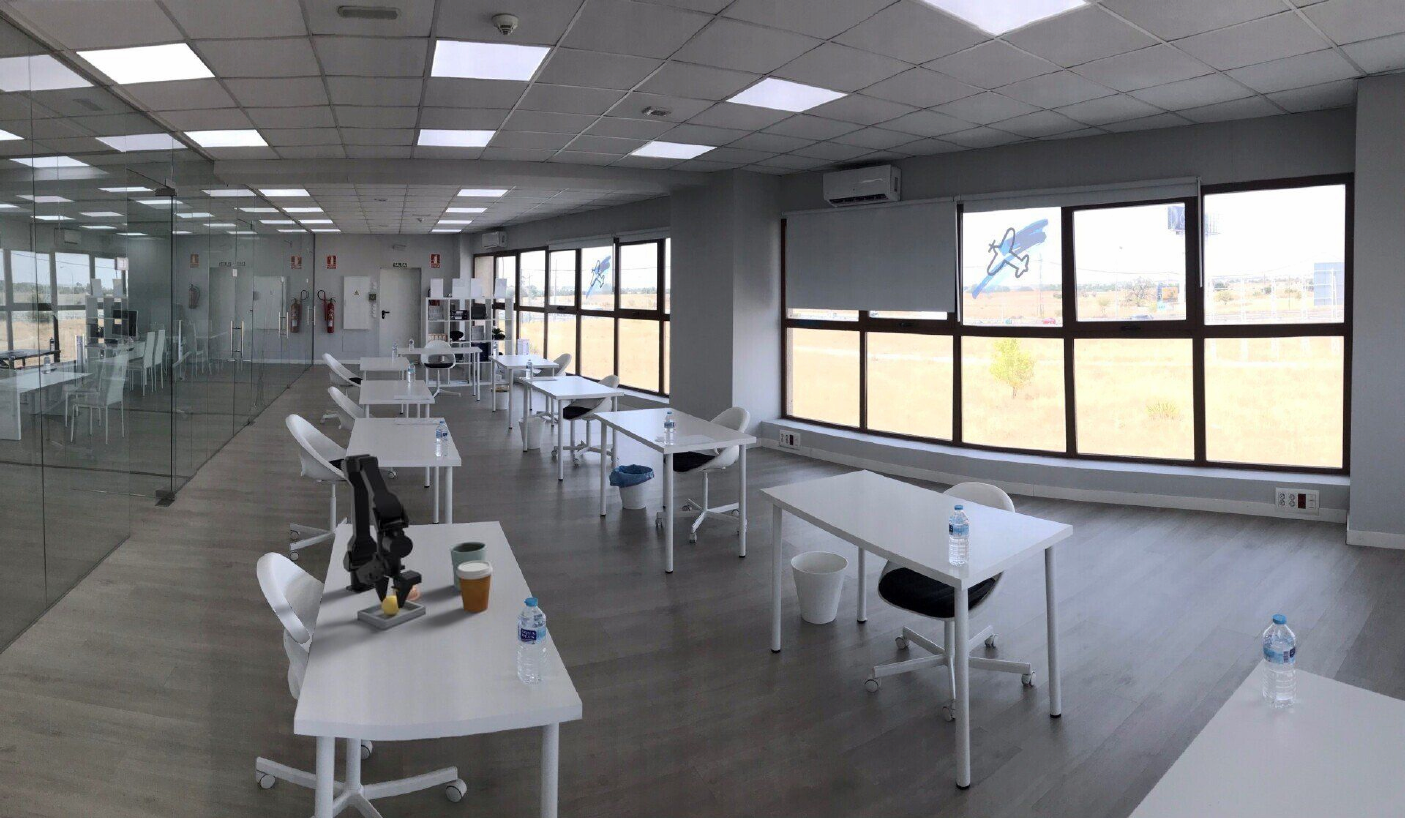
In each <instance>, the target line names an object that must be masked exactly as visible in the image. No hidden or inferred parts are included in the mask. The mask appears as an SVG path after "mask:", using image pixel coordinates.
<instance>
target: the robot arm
mask: <svg viewBox="0 0 1405 818" xmlns="http://www.w3.org/2000/svg"><path fill="white" fill-rule="evenodd" d="M340 470H341V472H342V474H343V478H344V479H345V480H346V481H347V483H348V484H349V485H350V499H351V500H350V503H351V520H352V524H351V525H352V535H351V537H350V539H349V540H348V542H347V544H346V549H347V550H346V551H345V553H344V556H343V559H342V564H343V570H345V571H346V572H347V573H350V576H349V578H350V585H347V586H345V589H347V590H350V591H352V592H355V593H363V592H365V591H369V590H371V589H374V590H375V592H376V594H377V597H378V599H379V601H380V602H379V603H382V602H383V600H384V599H385V598H386V597H387V593H388V590H389V589H388V587H389V584H390V579H392V584H393V585H392V586H390V588H391V589H392V590H393V589H394V590H395V591H396V598H397V605H398V608H399V609H400V608H402V607H403V606H404V603H405V601H406V599H407V597H408V595H409V593H410V591H411V589H412V587H413V586H414V585H419V584H422V582H423V575H422V574H421V573H420V572H418V571H415V570H412V569H409V570H406V564H402V559H404V558H407V557H408V556H409V555H410V554H411V553H412V551H413V548H414V543H413V540H412V539H411V538H410V537H409V536H407V535H406V534H405V530H404V529H408V528H410V525H409V522H410V519H409V517H408V513H407V511H406V507H405V506H404V504H403V503H402V502H401V501H400V499H399V497H398V496H397V495H396V494H395V493H393V492H391V491H390V490H389V487H388V485H387V483H386V481H385V478H384V476H383V474H382V471H381V469H380V466H379V459H378V457H377V456H374V455H370V453H364V454H363V453H362V454H354V455H346V456H344V459H342V460H341V462H340ZM369 497H370V498H369ZM370 500H371V506H370ZM371 523H372V526H373V528H374V530H375V535H376V539H375V538H374V537H373V536H372V535H371ZM404 570H405V571H404ZM402 571H404V572H402Z"/></svg>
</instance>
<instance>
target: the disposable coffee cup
mask: <svg viewBox="0 0 1405 818" xmlns="http://www.w3.org/2000/svg"><path fill="white" fill-rule="evenodd" d="M493 570H494V568H493V567H492V564H491V562H489V561H486V560H485V561H470V562H465V563H463V564H461V565H459V566H458V570H457V571H456V573H457V575H458V577H459V584H460V589H461V591H460V594H461V599H462V607H463V611H465V612H467V613H474V614H475V613H480V612H481V613H482V612H484V611H485V610H487V609H489V597H490V589H491V579H492V573H493Z"/></svg>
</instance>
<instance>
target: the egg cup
mask: <svg viewBox="0 0 1405 818" xmlns="http://www.w3.org/2000/svg"><path fill="white" fill-rule="evenodd" d="M391 596H396V591H395V590H394V589H392V595H391ZM420 597H421V593H420V592H419V591H418V584H416V585H414V586H413V587H412V589H411V591H410V593H409V595H408V597H407V599H406V600H408V601H411V602H415V601H416V600H418V599H420Z"/></svg>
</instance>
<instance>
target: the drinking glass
mask: <svg viewBox="0 0 1405 818" xmlns="http://www.w3.org/2000/svg"><path fill="white" fill-rule="evenodd" d="M449 549H450V556H451V557H450V558H451V565H452V572H453V573H452V574H453V585H454V590H456V591H458V592H461V589H460V584H459V577H458V575H457V573H456V571H457V570H458V566H459V565H461V564H463V563H465V562H470V561H486V558H487V557H486V556H487V545H486V543H485V542H479V541H466V542H460V543H456V544H454V545H452V546H451V547H450V548H449Z"/></svg>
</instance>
